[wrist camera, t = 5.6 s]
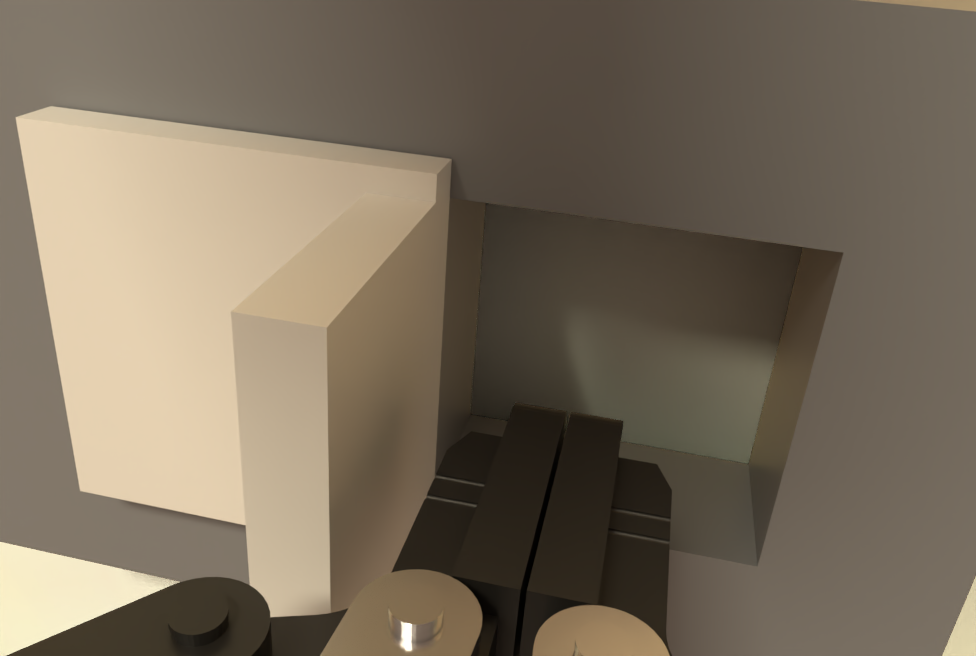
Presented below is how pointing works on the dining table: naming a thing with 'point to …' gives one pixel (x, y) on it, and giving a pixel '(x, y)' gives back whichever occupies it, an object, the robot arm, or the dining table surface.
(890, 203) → the socket block
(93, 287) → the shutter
